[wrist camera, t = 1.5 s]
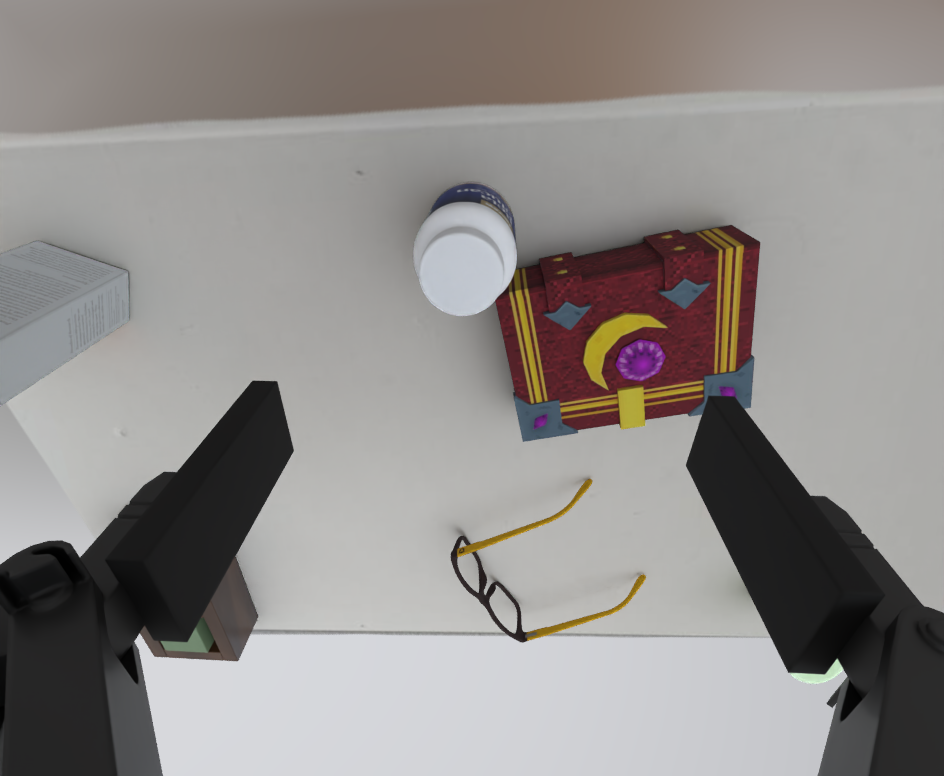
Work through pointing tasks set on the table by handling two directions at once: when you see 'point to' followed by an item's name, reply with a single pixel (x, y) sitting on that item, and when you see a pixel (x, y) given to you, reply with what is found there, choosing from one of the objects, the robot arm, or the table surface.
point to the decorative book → (631, 331)
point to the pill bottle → (466, 249)
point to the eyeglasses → (484, 598)
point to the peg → (193, 640)
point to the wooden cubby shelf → (220, 621)
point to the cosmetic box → (53, 311)
